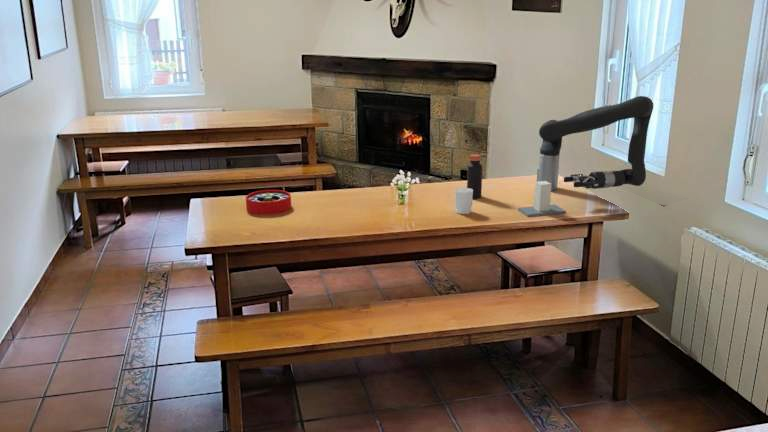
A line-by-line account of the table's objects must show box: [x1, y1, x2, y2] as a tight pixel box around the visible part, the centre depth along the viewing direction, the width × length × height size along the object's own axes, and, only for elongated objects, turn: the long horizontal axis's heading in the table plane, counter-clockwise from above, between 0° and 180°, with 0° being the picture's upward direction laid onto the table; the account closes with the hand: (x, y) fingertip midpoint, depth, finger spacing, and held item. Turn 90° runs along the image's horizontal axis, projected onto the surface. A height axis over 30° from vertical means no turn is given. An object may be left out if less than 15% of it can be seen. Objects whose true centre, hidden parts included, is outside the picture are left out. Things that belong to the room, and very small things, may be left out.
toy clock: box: [245, 189, 292, 215], centre depth 310 cm, size 20×6×20 cm
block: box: [533, 181, 552, 211], centre depth 300 cm, size 5×5×12 cm
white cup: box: [454, 187, 473, 215], centre depth 301 cm, size 8×8×10 cm
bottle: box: [466, 153, 483, 200], centre depth 321 cm, size 7×7×20 cm
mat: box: [517, 204, 567, 218], centre depth 302 cm, size 18×10×1 cm, turn 104°
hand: (569, 182), depth 302 cm, fingers open, 8 cm apart
